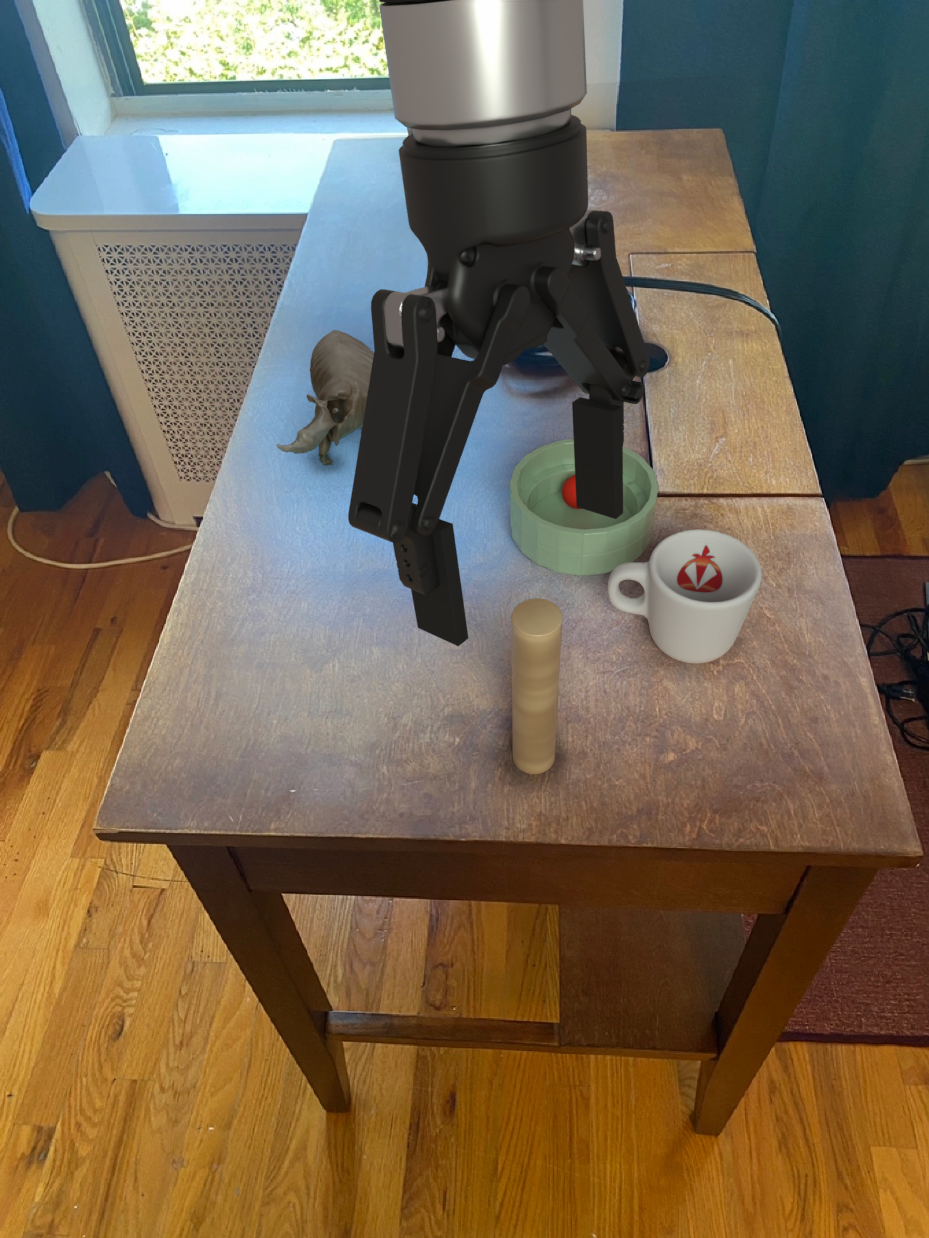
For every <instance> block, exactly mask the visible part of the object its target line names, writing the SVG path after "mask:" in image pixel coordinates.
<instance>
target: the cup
mask: <svg viewBox="0 0 929 1238" xmlns="http://www.w3.org/2000/svg"><path fill="white" fill-rule="evenodd" d="M649 557H650V558H649V561H645V562H641V561H640V562H638V561H637V562H636V561H632V562H629V563H624V564H620V565H618V566H617V567H616V568H614V570H613V571H610V572H611V573H610V575H609V577H608V582H607V595H608V600H609V601H610V603H611V605H612V606H613V607H614V608H616V609H617V610H619V611H621V612H624V613H628V614H632V615H633V614H634V615H640V616H642V617H644V618H646V619H647V622H648V628H649V632H650V633H649V634H650V636H651V638H652V640H653V642H654V643H655V645H656V647H657V648H658V649H659V650H660V651H662V653H664V654H665V655H666V656H668V657H669V658H672V659H673V660H676V661H679V662H682V663H687V664H704V663H711V662H712V661H715V660H717V659H719V658H721V657H723V656H724V655H725V654H727V653H728V651H729V650H730V649H731V648H732V646H733V645H734V644H735V642H736V640H737V638H738V636H739V634H740V631H741V629H742V627H743V625H744V623H745V620H746V618H747V616H748V613H749V611H750V609H751V606H752V604H753V602H754V600H755V598H756V595H757V593H758V592H759V589H760V587H761V583H762V577H763V572H762V567H761V563H760V561H759V559H758V557H757V555H756V554H755V552H754V551H753V550H752V549H751V548H750V546H748V545H747V544H745V543H744V542H743V541H741V540H740V539H738V538H736V537H734V536H732V535H729V534H727V533H724V532H722V531H717V530H711V529H701V528H699V529H698V528H697V529H686V530H682V531H681V530H680V531H679V532H676V533H672V534H671V535H668V536H667V537H665V538H664V539H663V540H661V541H660V542H659V543H658V544H656V546H655V548H654V549H653V550H652V552H651V554H650V556H649ZM628 580H632V581H635V582H636V583H638V584H640V585H641V587H642V588H643V593H642V594H641V595H640V596H637V597H629V596H626V595H624V594H623V593H622V592H621V590H620V586H619V585H620V583H622V582H623V581H628Z"/></svg>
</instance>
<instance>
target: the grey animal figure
mask: <svg viewBox="0 0 929 1238" xmlns="http://www.w3.org/2000/svg"><path fill="white" fill-rule="evenodd" d="M373 357H374V351H373V350H372V349H371V348H370V347H369V346H368V345H366V344H365V343H364V342H363V341H361V340H359V339H358V338H356V337H354V336H352V335H350V334H349V333H346V332H345V331H341V330H336V329H334V330H331V331H330V332H328V333H327V334H325V335H324V336H323V337H322V338H321V339H320V340H319V341H318V342H317V343H316V345H315V346H314V348H313V349H312V352H311V356H310V365H309V374H310V375H309V376H310V378H309V379H310V383H311V384H310V385H311V388H312V391H313V392H314V394H315V396H314V395H312V394H309V393H307V394H306V399H307V401H308V402H309V403H313V404H315V407H314V408H315V409H314V417H313V419H311V421H310V422H309V423H308V424H306V426H304V427H302V428H301V429H299V430H298V431H297V434H296V437H295V440H294V441H292V442H291V443H290V444H284V445H283V444H279V443H276V448H278V449H279V450H280V451H282V452H283V453H293V454H295V455H298V454H302V455H303V454H306V453H309V452H312V451H314V450H316V449H317V448H318V457H319V458H317V460H318V461H319V462H320V463H321V464H322V465H323V466H329V465H330V466H333V463H334V461H333V460H332V459H331V458H330V457H329V456H328V454H329V452H330V449H331V445H332V443H333V444H334V445H335V446H336V447H337V446H339V443H340V440H341V439H344V438H346V437H347V436H349V435H350V434H352V433H354V432H355V431H356V430H359V429H362V426H363V419H364V413H365V407H366V401H367V395H368V388H369V382H370V376H371V370H372V363H373Z"/></svg>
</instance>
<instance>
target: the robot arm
mask: <svg viewBox="0 0 929 1238" xmlns="http://www.w3.org/2000/svg"><path fill="white" fill-rule="evenodd" d="M379 3H380V4H379V13H380V19H381V27H382V34H383V43H384V49H385V56H386V61H387V62H386V63H387V72H388V78H389V84H390V93H391V100H392V107H393V114H394V120H396V121H397V122H399V123H400V124H401V125H402V126H403V127H405V128H407V127H408V128H412V131H413V134H411V135H409V136H408V135H407V136H406V137H405V138H404V139H403V141H402V145H401V146H400V147H399V149H398V156H399V162H400V170H401V178H402V184H403V185H402V186H403V193H404V198H405V208H406V215H407V220H408V226H409V229H410V231H411V232H412V234H413V235H414V236H415V237H416V238H417V240H418V241H419V242H420V244H421V246H422V247H423V249H424V251H425V253H426V258H427V270H426V277H425V281H424V286H422V287H420V288H416V289H413V290H408V291H406V292H403V291H398V290H397V291H396V290H391V289H385V288H384V289H383V288H381V289H378V290H377V291H375V293H373V295H372V297H371V301H370V313H371V324H372V336H373V337H372V338H373V349H374V351H373V353H374V357H373V363H372V370H371V376H370V382H369V388H368V395H367V401H366V407H365V413H364V419H363V426H362V428H361V433H360V439H359V445H358V446H359V447H358V451H357V456H356V457H357V458H356V464H355V469H354V477H353V483H352V488H351V494H350V495H351V496H350V502H349V507H348V512H347V513H348V515H347V521H348V524H349V525H350V526H351V527H352V528H354V529H356V530H359V531H362V532H365V533H367V534H370V535H372V536H375V537H377V538H380V539H383V540H384V541H387V542H389V543H392V545H393V552H394V557H395V561H396V567H397V573H398V578H399V581H400V583H401V584H402V585H403V586H404V587H405V588H407V589H409V590H410V591H411V596H412V603H413V608H414V612H415V613H414V615H415V619H416V626H417V629H419V630H421V631H424V632H426V633H428V634H430V635H432V636H435V637H437V638H439V639H441V640H443V641H446V642H448V643H450V644H452V645H454V646H456V647H460V646H461V645H462V644H463V643H465V642H466V641H467V640H469V631H468V626H467V625H468V624H467V617H466V609H465V604H464V603H465V602H464V596H463V595H464V594H463V589H462V587H463V586H462V581H461V580H462V579H461V574H460V566H459V559H458V552H457V544H456V537H455V529H454V523H452V522H450V521H447V520H444V519H441V515H442V513H443V510H444V507H445V504H446V501H447V498H448V495H449V493H450V490H451V488H452V484H453V481H454V478H455V476H456V472H457V471H458V467H459V464H460V461H461V459H462V456H463V453H464V450H465V447H466V444H467V441H468V440H469V439H468V438H469V436H470V434H471V430H472V427H473V425H474V422H475V418H476V416H477V413H478V410H479V407H480V406H481V405H480V404H481V402H482V398H483V396H484V393H485V392H486V391H488V390H490V389H492V388H493V387H495V386H496V384H497V383H498V381H499V378H500V375H501V372H502V369H503V367H504V366H506V365H509V364H510V363H511V362H514V361H515V360H517V359H518V357H520V356H521V354H523V352H525V351H526V350H527V349H532V348H533V349H534V348H538V347H540V346H541V345H543V346H544V347H545V348H546V350H548V352H549V353H550V354H551V356H553V358H554V359H555V360H556V361H557V363H558V364H559V365H560V366H561V367H562V368H563V370H564V371H565V372H566V373H567V375H568V376H569V377H570V378H571V379H572V380H573V382H574V383H575V384H576V385H577V386H578V388H579V389H580V390H581V391H582V393H584V394H587V395H588V396H589V397H588V398H586V397H581V396H579V397H578V398H577V399H575V400H573V401H572V402H571V407H572V408H571V409H572V410H571V411H572V429H573V430H572V433H573V439H574V459H575V483H576V506H577V507H578V508H582V509H585V510H588V511H591V512H594V513H598V514H601V515H604V516H607V517H610V518H614V519H617V518H618V517H619V516H620V515H622V514H623V447H624V442H625V432H624V431H625V403H627V404H631V405H638V404H639V403H640V402H641V400H642V399H643V396H644V392H645V384H644V383H643V382H642V381H637V380H634V379H635V378H636V377H637V378H641V379H642V378H644V377H645V376H646V375H647V374H648V372H649V370H650V366H651V365H650V363H651V361H650V356H649V353H648V349H647V347H646V343H645V340H644V338H643V334H642V331H641V329H640V325H639V322H638V319H637V315H636V313H635V310H634V307H633V304H632V301H631V297H630V294H629V292H628V288H627V285H626V282H625V280H624V276H623V273H622V270H621V267H620V264H619V260H618V258H617V251H616V238H615V237H616V236H615V223H614V217H613V214H612V213H611V212H610V211H608V210H596V209H589V208H588V207H589V176H588V174H589V173H588V141H587V140H588V139H587V138H588V137H587V126H586V125H584V124H583V123H582V120H581V118H579V117H578V116H576V115H573V114H572V109H573V108H575V107H577V106H578V105H581V103H582V102H583V100H584V98H585V96H586V95H587V94H588V90H587V89H588V88H587V63H586V62H587V61H586V38H585V36H586V35H585V13H584V11H585V10H584V0H379ZM456 347H457V348H458V349H459V351H460V352H461V353H462V354H463V355H464V356H466V357H467V358H469V359H473V360H467V359H462V358H457V357H453V355H454V351H455V348H456ZM618 348H620V349H618ZM414 496H415V497H416V498H417V503H414V502H413V501H414Z"/></svg>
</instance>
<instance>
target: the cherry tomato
mask: <svg viewBox="0 0 929 1238" xmlns="http://www.w3.org/2000/svg"><path fill="white" fill-rule="evenodd" d="M562 496H563V499H564V501H565V503H566V504H567V505H568V506H570V507H572V508H575V509H582V508H578V507H577V506H576V483H575V475H574V476H572V477H570V478H569V479H567V480H566V482H565V483H564V485H563V488H562Z"/></svg>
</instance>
